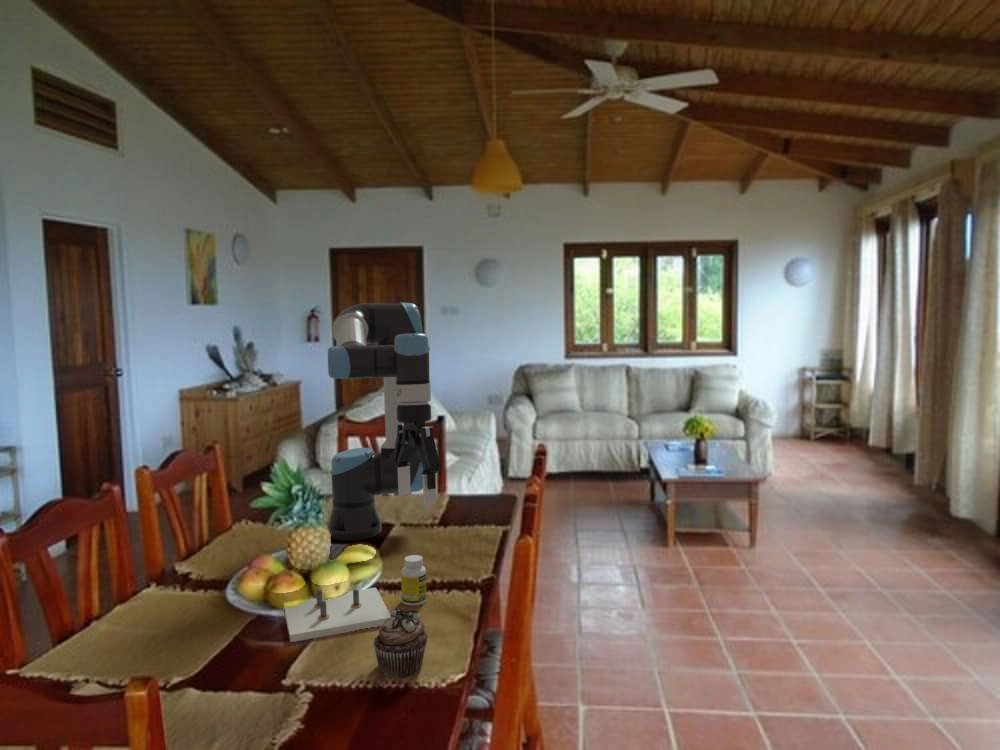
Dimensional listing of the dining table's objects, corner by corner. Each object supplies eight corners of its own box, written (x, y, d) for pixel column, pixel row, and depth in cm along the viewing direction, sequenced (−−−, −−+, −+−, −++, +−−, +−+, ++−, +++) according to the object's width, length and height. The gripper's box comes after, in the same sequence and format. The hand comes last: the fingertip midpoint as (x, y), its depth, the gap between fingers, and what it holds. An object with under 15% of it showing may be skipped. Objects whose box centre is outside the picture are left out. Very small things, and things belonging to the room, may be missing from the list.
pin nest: (283, 608, 154) (282, 586, 153) (376, 593, 161) (375, 572, 161) (290, 642, 139) (289, 617, 139) (392, 624, 146) (391, 600, 146)
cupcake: (379, 652, 135) (378, 601, 134) (430, 653, 135) (429, 602, 133) (368, 680, 125) (367, 625, 124) (423, 680, 125) (422, 625, 124)
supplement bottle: (422, 607, 154) (421, 563, 153) (398, 605, 155) (397, 561, 154) (429, 597, 159) (428, 554, 158) (406, 595, 160) (405, 552, 159)
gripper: (376, 402, 167) (380, 493, 167) (421, 406, 146) (425, 510, 146) (406, 401, 171) (409, 489, 171) (454, 404, 150) (458, 505, 150)
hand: (416, 499), depth 159 cm, fingers open, 13 cm apart
